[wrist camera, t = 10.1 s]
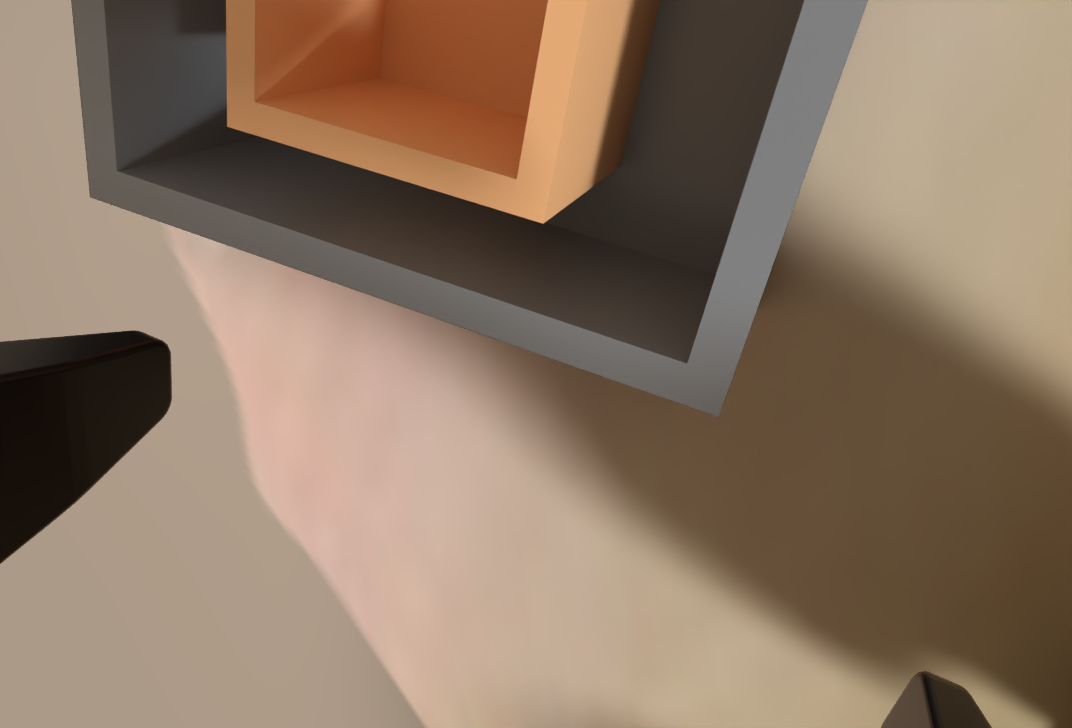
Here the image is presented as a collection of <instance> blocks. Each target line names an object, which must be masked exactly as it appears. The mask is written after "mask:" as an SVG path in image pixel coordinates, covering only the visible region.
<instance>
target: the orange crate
mask: <svg viewBox="0 0 1072 728" xmlns="http://www.w3.org/2000/svg"><path fill="white" fill-rule="evenodd" d="M659 3H660V0H226V59H227V127H230V128H233V129H236V130H240V131H243V132H246V133H249V134H253V135H256V136H259V137H262V138H266V139H269V140H272V141H275V142H279V143H282V144H285V145H289V146H292V147H295V148H298V149H302V150H305V151H308V152H311V153H315V154H318V155H321V156H324V157H328V158H331V159H334V160H337V161H341V162H344V163H347V164H350V165H354V166H357V167H360V168H363V169H367V170H370V171H373V172H376V173H380V174H383V175H386V176H389V177H393V178H396V179H399V180H402V181H406V182H409V183H412V184H416V185H419V186H422V187H425V188H429V189H432V190H435V191H438V192H442V193H445V194H448V195H451V196H455V197H458V198H461V199H464V200H468V201H471V202H474V203H477V204H481V205H484V206H487V207H490V208H494V209H497V210H500V211H503V212H507V213H510V214H513V215H516V216H520V217H523V218H526V219H529V220H533V221H536V222H539V223H542V224H544V223H545V222H546V221H548V220H549V219H550V218H552V217H553V216H554V215H556V214H557V213H558V212H560V211H561V210H562V209H564V208H565V207H566V206H568V205H569V204H570V203H572V202H573V201H574V200H576V199H577V198H579V197H580V196H581V195H583V194H584V193H585V192H587V191H588V190H589V189H591V188H592V187H593V186H595V185H596V184H597V183H599V182H600V181H601V180H603V179H604V178H605V177H607V176H608V175H609V174H611V173H612V172H613V171H615V170H616V169H617V168H619V167H620V166H621V163H622V159H623V154H624V150H625V146H626V142H627V138H628V133H629V129H630V125H631V121H632V117H633V112H634V108H635V104H636V100H637V96H638V92H639V87H640V83H641V79H642V75H643V71H644V66H645V62H646V58H647V54H648V50H649V45H650V41H651V37H652V33H653V29H654V24H655V20H656V16H657V12H658V8H659Z"/></svg>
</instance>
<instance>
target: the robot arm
mask: <svg viewBox="0 0 1072 728" xmlns="http://www.w3.org/2000/svg"><path fill="white" fill-rule="evenodd" d="M171 385H172V380H171V352H170V350H169V347H168V345H167V344H166V343H165V342H163V341H162V340H160V339H157V338H155V337H153V336H150V335H148V334H146V333H143V332H140V331H123V332H112V333H111V332H110V333H99V334H87V335H75V336H64V337H52V338H40V339H29V340H17V341H5V342H0V564H1V563H2V562H3V561H4V560H6V559H7V558H8V557H9V556H11V555H12V554H13V553H14V552H15V551H17V550H18V549H19V548H21V546H23V545H24V544H25V543H27V542H28V541H29V540H30V539H32V538H33V537H34V536H35V535H37V534H38V533H39V532H40V531H42V530H43V529H44V528H45V527H47V526H48V525H49V524H50V523H51V522H52V521H54V520H55V519H56V518H58V517H59V516H60V515H61V514H62V513H64V512H65V511H66V510H67V509H68V508H70V507H71V506H72V505H73V504H74V503H75V502H77V501H78V500H79V499H80V498H81V497H82V496H83V495H84V494H85V493H86V492H87V491H88V490H89V489H90V488H92V487H93V485H95V484H96V483H97V482H98V481H99V480H100V479H101V478H102V477H103V476H104V475H105V474H106V473H107V472H108V471H109V470H110V469H111V468H112V467H113V466H114V465H115V464H116V463H117V462H118V461H119V460H120V459H121V458H122V457H123V456H124V455H125V454H126V453H127V452H129V451H130V450H131V449H132V447H134V446H135V445H136V444H137V443H138V442H139V441H140V440H141V439H142V438H143V437H144V436H145V435H146V434H147V433H148V432H149V431H150V430H151V429H152V428H153V427H154V426H155V425H156V424H157V423H158V422H159V421H160V420H161V419H162V418H163V417H164V416H165V414H166V413H167V411H168V409H169V407H170V404H171V400H172V386H171ZM881 728H992V727H991V726H990V724H989V723H988V721H987V720H986V718H985V716H984V715H983V713H982V712H981V710H980V709H979V707H978V706H977V704H976V703H975V701H974V699H973V698H972V696H971V695H970V694H969V692H968V691H967V690H966V689H965V688H963V687H962V686H960V685H958V684H955V683H953V682H951V681H948V680H946V679H944V678H941V677H939V676H937V675H934V674H932V673H930V672H927V671H924V672H919V673H917V674H916V675H915V676H914V677H913V678H912V679H911V681H910V682H909V684H908V685H907V687H906V688H905V690H904V691H903V693H902V694H901V696H900V697H899V699H898V701H897V702H896V704H895V705H894V707H893V708H892V710H891V711H890V713H889V714H888V716H887V717H886V719H885V721H884V722H883V724H882V726H881Z"/></svg>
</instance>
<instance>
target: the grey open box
mask: <svg viewBox="0 0 1072 728" xmlns="http://www.w3.org/2000/svg"><path fill="white" fill-rule="evenodd" d="M867 1H868V0H660V3H659V8H658V12H657V16H656V20H655V24H654V29H653V33H652V37H651V41H650V45H649V50H648V54H647V58H646V62H645V66H644V71H643V75H642V79H641V83H640V87H639V92H638V96H637V100H636V104H635V108H634V112H633V117H632V121H631V125H630V129H629V133H628V138H627V142H626V146H625V150H624V154H623V159H622V163H621V166H620V167H619V168H617V169H616V170H615V171H613V172H612V173H611V174H609V175H608V176H607V177H605V178H604V179H603V180H601V181H600V182H599V183H597V184H596V185H595V186H593V187H592V188H591V189H589V190H588V191H587V192H585V193H584V194H583V195H581V196H580V197H579V198H577V199H576V200H574V201H573V202H572V203H570V204H569V205H568V206H566V207H565V208H564V209H562V210H561V211H560V212H558V213H557V214H556V215H554V216H553V217H552V218H550V219H549V220H548V221H546V222H545V223H544V224H542V223H539V222H536V221H533V220H529V219H526V218H523V217H520V216H516V215H513V214H510V213H507V212H503V211H500V210H497V209H494V208H490V207H487V206H484V205H481V204H477V203H474V202H471V201H468V200H464V199H461V198H458V197H455V196H451V195H448V194H445V193H442V192H438V191H435V190H432V189H429V188H425V187H422V186H419V185H416V184H412V183H409V182H406V181H402V180H399V179H396V178H393V177H389V176H386V175H383V174H380V173H376V172H373V171H370V170H367V169H363V168H360V167H357V166H354V165H350V164H347V163H344V162H341V161H337V160H334V159H331V158H328V157H324V156H321V155H318V154H315V153H311V152H308V151H305V150H302V149H298V148H295V147H292V146H289V145H285V144H282V143H279V142H275V141H272V140H269V139H266V138H262V137H259V136H256V135H253V134H249V133H246V132H243V131H240V130H236V129H233V128H230V127H227V59H226V0H71V2H72V12H73V23H74V33H75V44H76V55H77V65H78V75H79V86H80V96H81V107H82V117H83V128H84V139H85V149H86V160H87V170H88V181H89V190H90V197H91V198H94V199H97V200H100V201H103V202H105V203H109V204H111V205H114V206H117V207H120V208H122V209H125V210H128V211H131V212H134V213H137V214H140V215H143V216H146V217H148V218H151V219H154V220H157V221H160V222H162V223H165V224H168V225H171V226H174V227H177V228H180V229H182V230H185V231H188V232H191V233H194V234H197V235H200V236H202V237H205V238H208V239H211V240H214V241H217V242H220V243H222V244H225V245H228V246H231V247H234V248H237V249H240V250H242V251H245V252H248V253H251V254H254V255H257V256H259V257H262V258H265V259H268V260H271V261H274V262H277V263H279V264H282V265H285V266H288V267H291V268H294V269H297V270H299V271H302V272H305V273H308V274H311V275H314V276H317V277H319V278H322V279H325V280H328V281H331V282H334V283H337V284H339V285H342V286H345V287H348V288H351V289H354V290H357V291H359V292H362V293H365V294H368V295H371V296H374V297H377V298H379V299H382V300H385V301H388V302H391V303H394V304H397V305H399V306H402V307H405V308H408V309H411V310H414V311H416V312H419V313H422V314H425V315H428V316H431V317H434V318H436V319H439V320H442V321H445V322H448V323H451V324H454V325H456V326H459V327H462V328H465V329H468V330H471V331H474V332H476V333H479V334H482V335H485V336H488V337H491V338H494V339H496V340H499V341H502V342H505V343H508V344H511V345H514V346H516V347H519V348H522V349H525V350H528V351H531V352H534V353H536V354H539V355H542V356H545V357H548V358H551V359H554V360H556V361H559V362H562V363H565V364H568V365H571V366H573V367H576V368H579V369H582V370H585V371H588V372H591V373H593V374H596V375H599V376H602V377H605V378H608V379H611V380H613V381H616V382H619V383H622V384H625V385H628V386H631V387H633V388H636V389H639V390H642V391H645V392H648V393H651V394H653V395H656V396H659V397H662V398H665V399H668V400H671V401H673V402H676V403H679V404H682V405H685V406H688V407H691V408H693V409H696V410H699V411H702V412H705V413H708V414H710V415H713V416H716V417H719V414H720V411H721V409H722V406H723V403H724V400H725V397H726V395H727V392H728V389H729V386H730V383H731V381H732V378H733V375H734V372H735V370H736V367H737V364H738V361H739V358H740V356H741V353H742V350H743V347H744V344H745V342H746V339H747V336H748V333H749V331H750V328H751V325H752V322H753V319H754V317H755V314H756V311H757V308H758V305H759V303H760V300H761V297H762V294H763V291H764V289H765V286H766V283H767V280H768V278H769V275H770V272H771V269H772V266H773V264H774V261H775V258H776V255H777V252H778V250H779V247H780V244H781V241H782V238H783V236H784V233H785V230H786V227H787V225H788V222H789V219H790V216H791V213H792V211H793V208H794V205H795V202H796V199H797V197H798V194H799V191H800V188H801V185H802V183H803V180H804V177H805V174H806V172H807V169H808V166H809V163H810V160H811V158H812V155H813V152H814V149H815V146H816V144H817V141H818V138H819V135H820V133H821V130H822V127H823V124H824V121H825V119H826V116H827V113H828V110H829V107H830V105H831V102H832V99H833V96H834V93H835V91H836V88H837V85H838V82H839V80H840V77H841V74H842V71H843V68H844V66H845V63H846V60H847V57H848V54H849V52H850V49H851V46H852V43H853V40H854V38H855V35H856V32H857V29H858V27H859V24H860V21H861V18H862V15H863V13H864V10H865V7H866V4H867Z"/></svg>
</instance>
